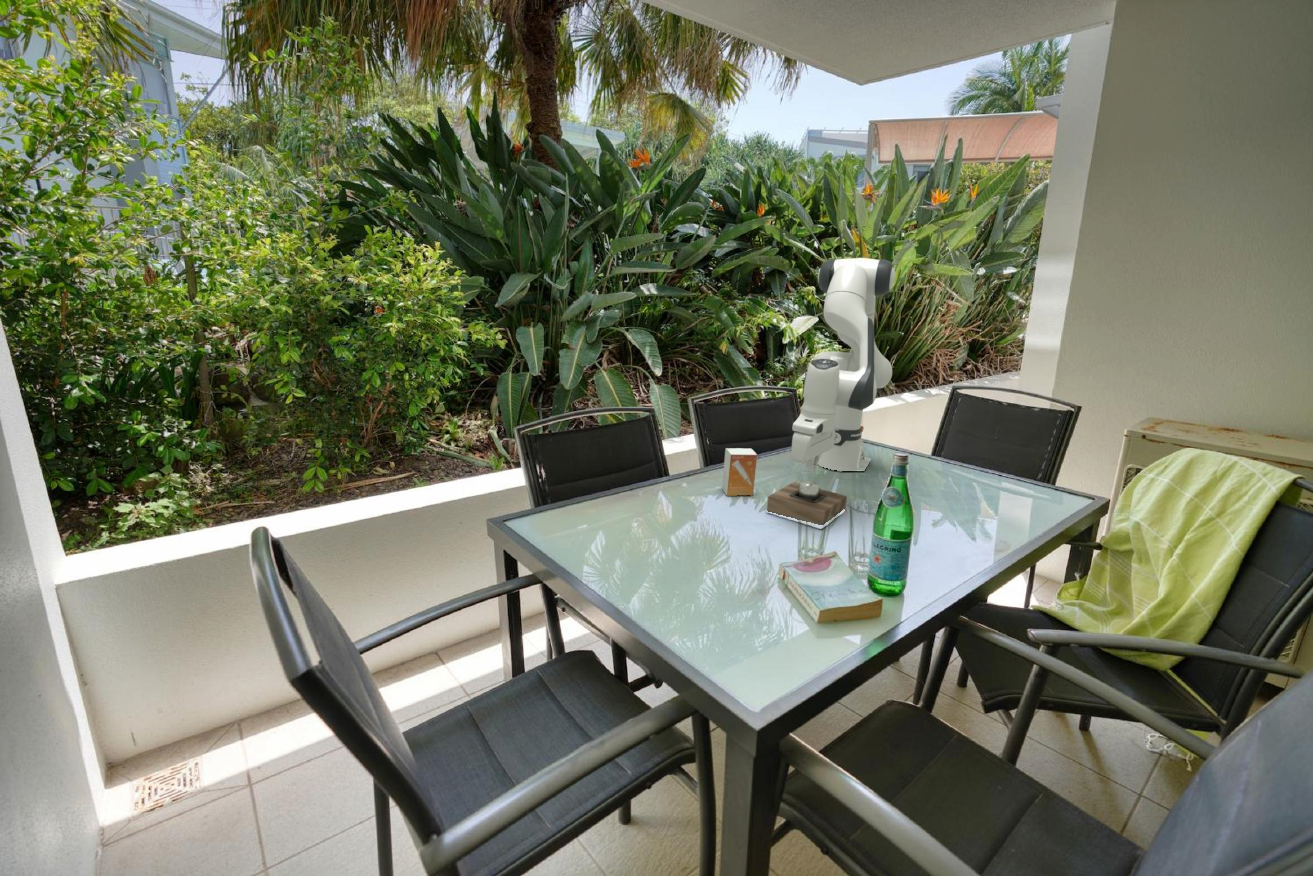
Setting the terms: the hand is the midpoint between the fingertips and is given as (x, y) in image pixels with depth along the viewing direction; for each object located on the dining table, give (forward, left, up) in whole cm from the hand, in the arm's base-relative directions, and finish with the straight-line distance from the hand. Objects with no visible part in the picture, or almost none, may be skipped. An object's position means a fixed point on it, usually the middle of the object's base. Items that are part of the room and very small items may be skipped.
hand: (811, 470), depth 167 cm
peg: (0, 0, -9) cm, 9 cm away
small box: (0, -22, -13) cm, 25 cm away
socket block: (0, 0, -12) cm, 12 cm away
